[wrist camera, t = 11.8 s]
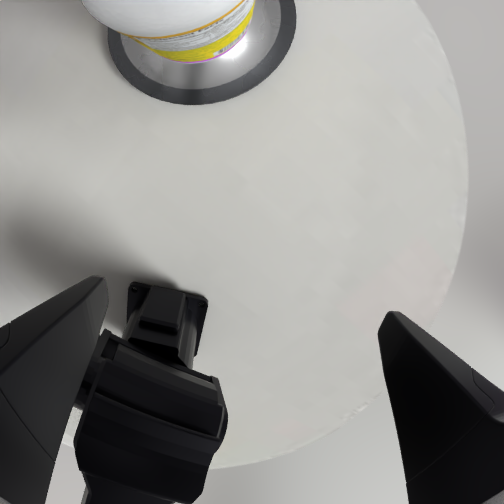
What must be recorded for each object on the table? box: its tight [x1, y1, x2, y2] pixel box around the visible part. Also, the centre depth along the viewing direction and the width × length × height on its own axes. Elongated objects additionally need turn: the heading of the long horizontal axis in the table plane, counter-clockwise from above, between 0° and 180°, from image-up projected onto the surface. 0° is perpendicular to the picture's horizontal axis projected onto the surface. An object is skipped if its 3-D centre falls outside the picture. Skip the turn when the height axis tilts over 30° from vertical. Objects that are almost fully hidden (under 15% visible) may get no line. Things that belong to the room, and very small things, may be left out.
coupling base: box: [108, 0, 296, 105], centre depth 15 cm, size 12×12×1 cm
